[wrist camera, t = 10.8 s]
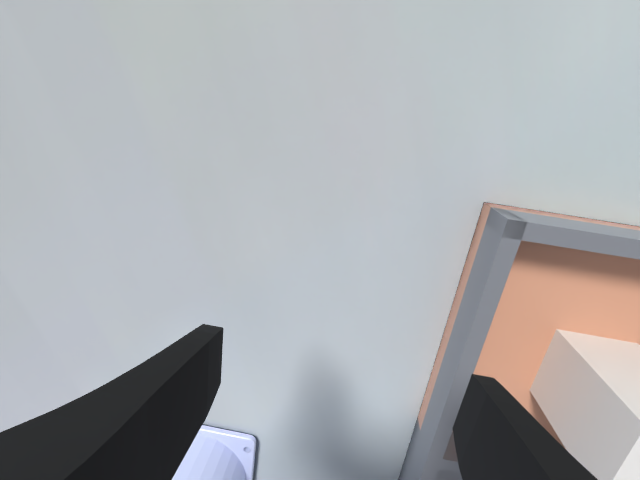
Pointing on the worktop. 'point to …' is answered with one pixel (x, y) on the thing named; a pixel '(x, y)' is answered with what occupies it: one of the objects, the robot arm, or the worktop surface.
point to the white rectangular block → (593, 401)
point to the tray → (523, 314)
